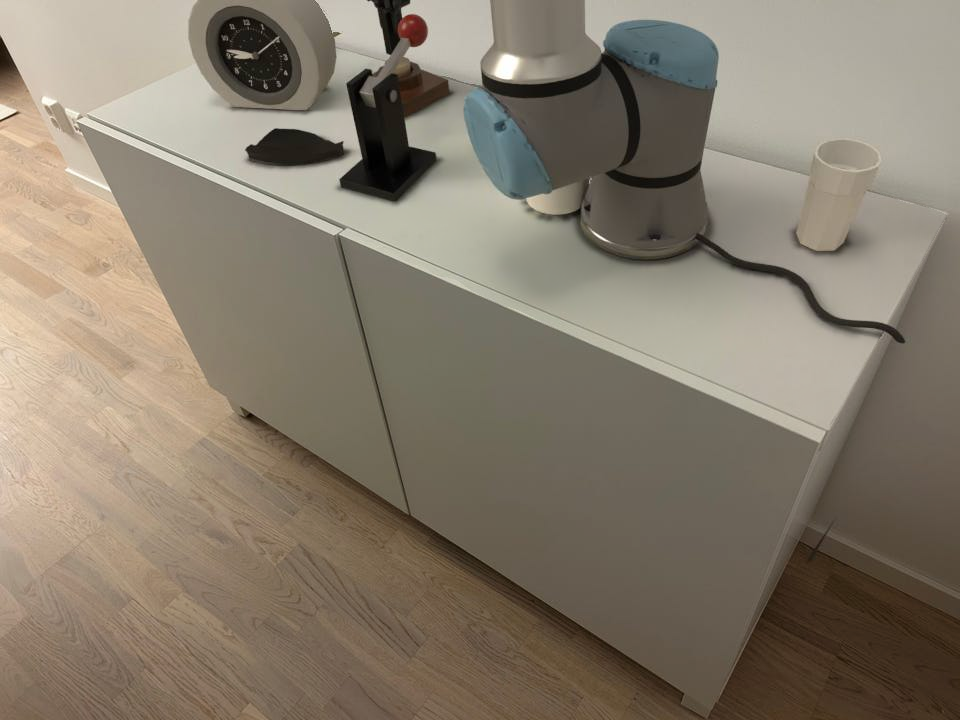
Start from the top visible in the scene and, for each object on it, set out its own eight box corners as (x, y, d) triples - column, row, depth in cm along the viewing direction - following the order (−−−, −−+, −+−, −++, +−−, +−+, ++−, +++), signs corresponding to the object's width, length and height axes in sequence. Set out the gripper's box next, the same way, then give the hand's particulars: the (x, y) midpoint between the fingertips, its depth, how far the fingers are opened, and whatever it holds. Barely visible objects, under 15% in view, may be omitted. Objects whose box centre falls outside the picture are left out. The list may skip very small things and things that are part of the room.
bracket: (384, 148, 106) (367, 55, 95) (436, 160, 102) (424, 65, 92) (340, 187, 99) (317, 92, 89) (395, 201, 96) (377, 104, 86)
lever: (411, 30, 98) (402, 5, 95) (436, 34, 97) (428, 9, 93) (362, 109, 94) (350, 85, 90) (387, 114, 93) (376, 91, 89)
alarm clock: (210, 105, 118) (163, -23, 104) (230, 84, 123) (188, -42, 109) (329, 111, 114) (298, -22, 100) (346, 89, 119) (318, -41, 104)
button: (416, 71, 114) (414, 60, 113) (397, 81, 112) (396, 70, 111) (399, 65, 116) (397, 54, 115) (381, 74, 114) (379, 63, 113)
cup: (794, 216, 88) (819, 134, 80) (853, 227, 85) (884, 144, 77) (785, 248, 84) (810, 165, 76) (846, 260, 81) (878, 176, 73)
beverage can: (561, 226, 90) (562, 139, 81) (513, 203, 94) (509, 118, 85) (600, 196, 93) (606, 110, 84) (552, 175, 97) (553, 91, 89)
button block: (449, 92, 116) (447, 68, 113) (404, 117, 111) (400, 93, 108) (400, 73, 122) (396, 49, 119) (355, 96, 117) (350, 72, 114)
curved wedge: (324, 174, 102) (321, 164, 101) (245, 160, 106) (242, 151, 105) (352, 144, 107) (350, 134, 106) (276, 132, 111) (273, 122, 110)
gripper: (421, -130, 93) (442, 52, 110) (357, -140, 99) (386, 33, 116) (378, -115, 89) (406, 71, 106) (314, -126, 96) (350, 50, 113)
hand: (395, 51), depth 111 cm, fingers closed
